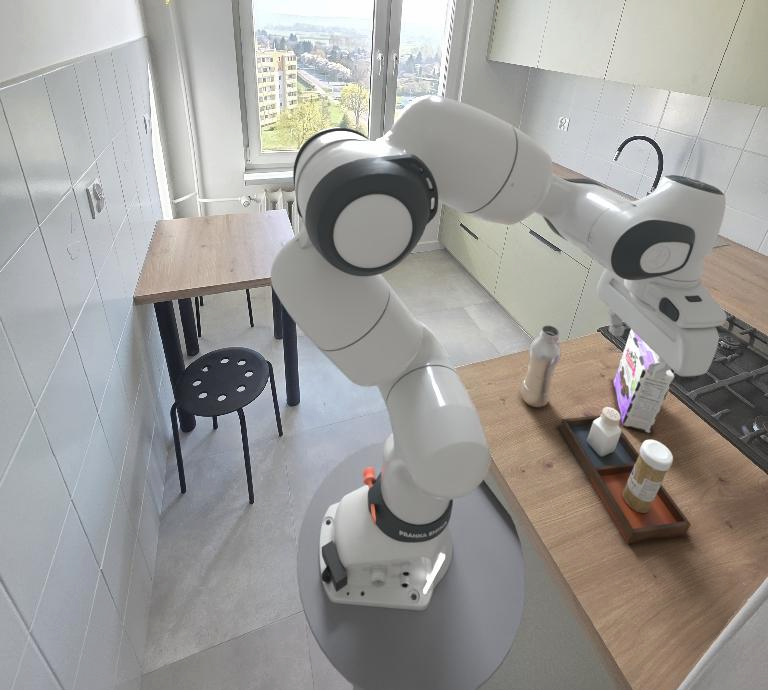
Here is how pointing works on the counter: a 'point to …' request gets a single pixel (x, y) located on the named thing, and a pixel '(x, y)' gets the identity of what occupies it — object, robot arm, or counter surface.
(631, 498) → the sprinkles bottle
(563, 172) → the counter surface
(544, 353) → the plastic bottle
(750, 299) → the counter surface
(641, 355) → the candy box
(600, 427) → the pepper shaker
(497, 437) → the counter surface
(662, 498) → the tray
